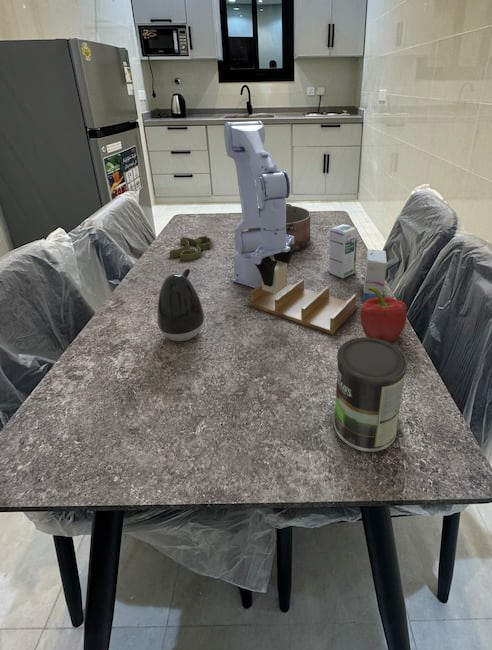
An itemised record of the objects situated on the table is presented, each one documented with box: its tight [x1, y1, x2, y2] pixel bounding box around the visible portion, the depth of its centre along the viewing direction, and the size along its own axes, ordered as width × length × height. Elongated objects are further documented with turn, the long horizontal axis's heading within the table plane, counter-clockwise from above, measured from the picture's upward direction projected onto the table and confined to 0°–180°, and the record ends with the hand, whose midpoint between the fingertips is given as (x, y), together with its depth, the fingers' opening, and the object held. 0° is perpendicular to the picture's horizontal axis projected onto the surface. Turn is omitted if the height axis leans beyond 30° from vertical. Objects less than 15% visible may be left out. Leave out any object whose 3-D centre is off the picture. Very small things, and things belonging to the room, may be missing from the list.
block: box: [262, 259, 288, 294], centre depth 91 cm, size 4×5×6 cm
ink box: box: [363, 248, 388, 303], centre depth 101 cm, size 9×5×12 cm, turn 168°
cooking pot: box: [247, 203, 312, 253], centre depth 137 cm, size 30×22×11 cm
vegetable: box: [359, 287, 408, 343], centre depth 85 cm, size 11×10×10 cm
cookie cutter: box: [169, 235, 213, 261], centre depth 134 cm, size 18×12×2 cm, turn 175°
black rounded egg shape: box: [156, 268, 205, 342], centre depth 85 cm, size 10×10×15 cm
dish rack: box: [248, 278, 358, 336], centre depth 97 cm, size 24×14×4 cm, turn 56°
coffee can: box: [333, 336, 408, 453], centre depth 61 cm, size 10×10×14 cm
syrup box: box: [328, 223, 358, 279], centre depth 113 cm, size 6×6×14 cm
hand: (274, 280), depth 91 cm, fingers closed on block, 5 cm apart
